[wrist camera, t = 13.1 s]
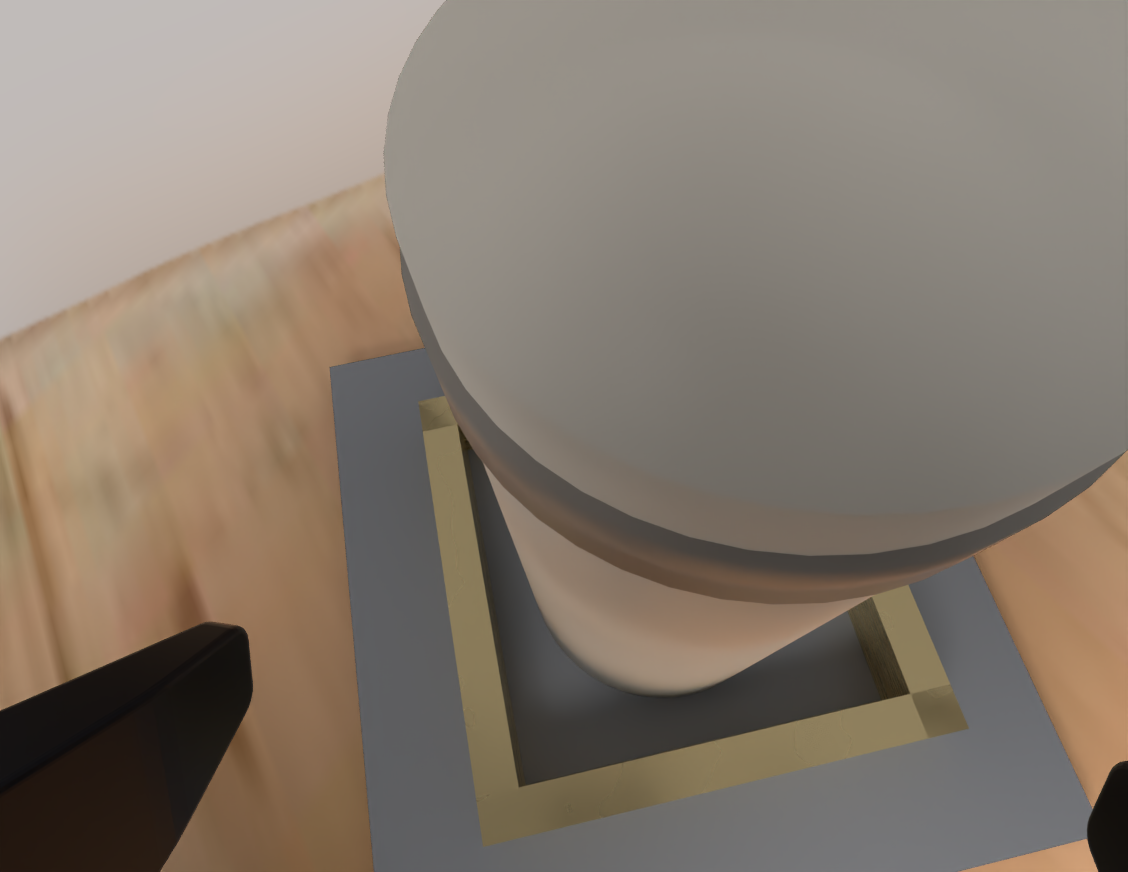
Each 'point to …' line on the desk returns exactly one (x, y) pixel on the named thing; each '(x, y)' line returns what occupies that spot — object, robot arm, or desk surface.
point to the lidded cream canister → (765, 297)
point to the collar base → (660, 702)
